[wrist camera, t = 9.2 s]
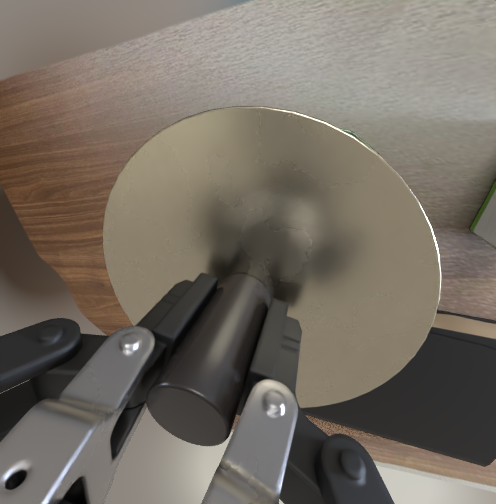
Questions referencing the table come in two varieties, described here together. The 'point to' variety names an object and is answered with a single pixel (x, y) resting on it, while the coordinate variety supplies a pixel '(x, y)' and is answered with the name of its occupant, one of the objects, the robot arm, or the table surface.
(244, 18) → the table surface
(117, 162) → the table surface
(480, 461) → the file folder
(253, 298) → the lid
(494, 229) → the ink box
